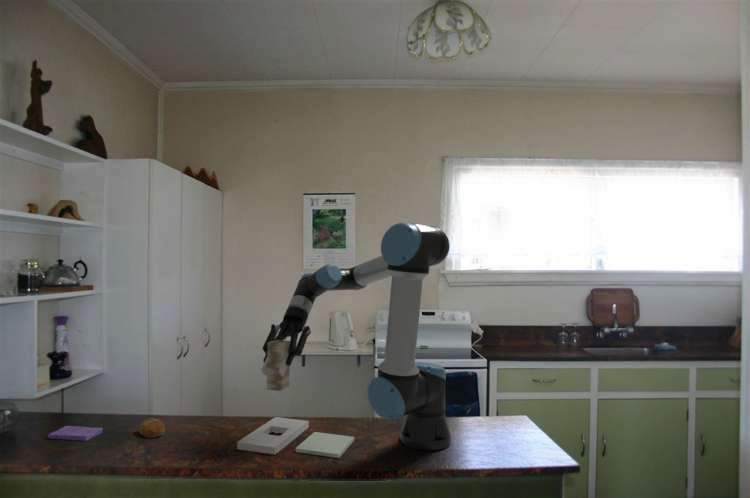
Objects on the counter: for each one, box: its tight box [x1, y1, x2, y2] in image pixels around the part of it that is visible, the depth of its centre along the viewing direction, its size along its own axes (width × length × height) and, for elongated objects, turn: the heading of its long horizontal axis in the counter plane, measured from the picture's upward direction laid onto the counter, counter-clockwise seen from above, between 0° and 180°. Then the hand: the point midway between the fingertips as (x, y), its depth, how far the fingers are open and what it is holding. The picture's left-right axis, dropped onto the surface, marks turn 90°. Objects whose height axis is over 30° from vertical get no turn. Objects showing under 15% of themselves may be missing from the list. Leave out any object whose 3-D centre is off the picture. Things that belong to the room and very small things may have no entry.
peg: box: [266, 340, 291, 392], centre depth 135 cm, size 5×5×14 cm
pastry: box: [138, 417, 166, 439], centre depth 137 cm, size 9×7×4 cm
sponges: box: [47, 425, 103, 442], centre depth 134 cm, size 7×13×2 cm, turn 84°
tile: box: [295, 431, 355, 459], centre depth 129 cm, size 13×13×1 cm
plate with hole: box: [236, 416, 310, 456], centre depth 135 cm, size 12×22×2 cm, turn 164°
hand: (272, 373), depth 132 cm, fingers closed on peg, 5 cm apart
